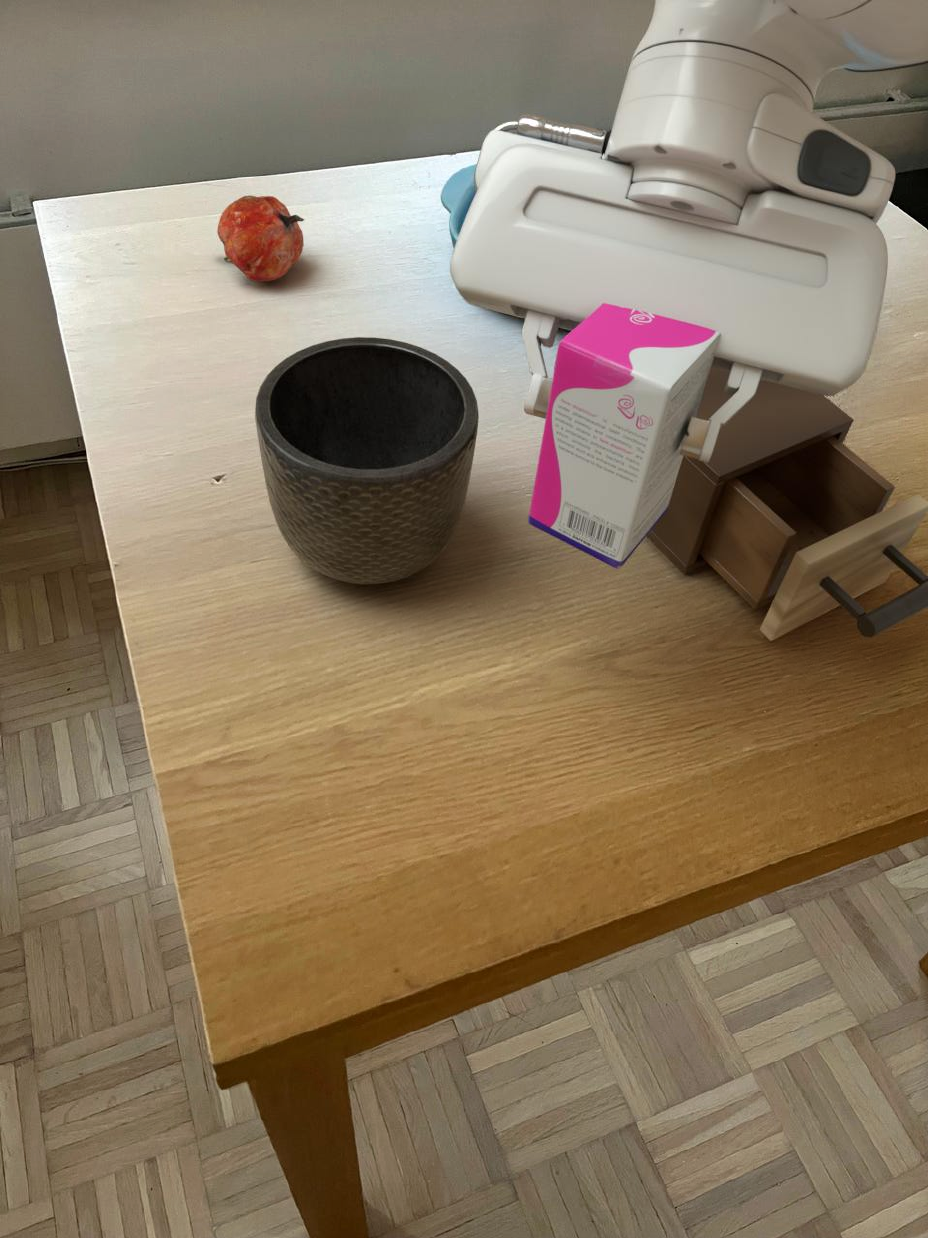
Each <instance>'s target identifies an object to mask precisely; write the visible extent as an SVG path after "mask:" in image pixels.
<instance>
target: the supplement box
mask: <svg viewBox="0 0 928 1238" xmlns="http://www.w3.org/2000/svg"><path fill="white" fill-rule="evenodd" d="M720 335H721V334H720V333H719V332H717V331H714V330H711V329H709V328H705V327H702V326H698V325H695V324H691V323H687V322H683V321H679V320H675V319H671V318H667V317H663V316H659V315H655V314H651V313H647V312H643V311H639V310H634V309H630V308H625V307H620V306H615V305H611V304H606V303H603V304H602V305H601V306H600V307H599V308H598V309H596V310H595V311H594V312H593V313H592V314H591V315H590V316H589V317H587V318H586V319H585V320H584V321H583V322H582V323H580V324H579V325H578V326H577V327H576V328H575V329H573V330H572V331H571V330H570V332H569V333H567V334H566V335H565V336H564V337H563V338H561V339H560V341H559V342H558V345H557V351H556V357H555V361H554V369H553V376H552V379H553V381H552V387H551V392H550V398H549V403H548V409H547V415H546V419H545V422H544V426H543V427H544V428H543V433H542V439H541V445H540V451H539V456H538V460H537V461H538V462H537V468H536V473H535V478H534V479H535V480H534V485H533V489H532V494H531V495H532V496H531V499H530V500H531V502H530V506H529V512H528V513H529V514H528V521H527V523H528V524H529V525H531V526H532V527H534V528H536V529H538V530H540V531H543V532H544V533H546V534H548V535H550V536H552V537H554V538H556V539H558V540H560V541H561V542H563V543H566V544H567V545H569V546H571V547H574V548H575V549H577V550H579V551H581V552H583V553H585V554H587V555H589V556H591V557H592V558H595V559H597V560H598V561H600V562H602V563H604V564H606V565H608V566H610V567H612V568H613V569H616V570H618V571H619V570H621V568H622V567H623V566H624V565H625V564H626V562H627V561H628V560H629V559H630V557H631V556H632V554H634V552H635V551H636V549H637V548H638V547H639V546H640V545H641V543H642V542H643V541H644V540H645V538H646V537H647V535H648V533H649V532H650V531H651V530H652V529H653V528H654V526H655V525H656V524H657V523H658V521H659V520H660V519H661V518H662V516H663V515H664V514H665V513H666V511H667V509H668V505H669V501H670V498H671V495H672V491H673V488H674V485H675V481H676V478H677V475H678V471H679V468H680V465H681V462H682V459H683V456H682V455H679V454H680V451H681V447H682V444H683V441H684V439H685V438H686V431H687V428H688V424H689V421H690V418H691V416H692V417H696V414H697V410H698V407H699V404H700V401H701V397H702V394H703V391H704V388H705V385H706V381H707V378H708V375H709V372H710V369H711V365H712V362H713V359H714V355H713V353H714V350H715V347H716V345H717V343H718V340H719V338H720Z"/></svg>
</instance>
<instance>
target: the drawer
mask: <svg viewBox="0 0 928 1238" xmlns="http://www.w3.org/2000/svg"><path fill="white" fill-rule="evenodd" d="M895 487H896V486H895V485H894V484H893V483H892V482H890V481H889V480H888V479H887V478H885V477H884V475H882V474H880V473H879V472H878V471H877V470H876V469H874V468H873V467H872V466H871V465H870V464H869V463H867V462H866V461H864V460H863V459H862V458H861V457H860V456H859V455H857V454H856V453H855V452H854V451H852V450H851V449H850V448H849V447H848V446H846V444H844V442H843V443H841V442H840V441H839V440H838V439H837V438H835V437H834V436H830V437H828V438H826V439H823V440H821V441H819V442H816V443H814V444H812V445H809V446H807V447H805V448H802V449H800V450H798V451H795V452H793V453H791V454H788V455H786V456H784V457H781V458H779V459H777V460H774V461H772V462H769V463H767V464H765V465H762V466H760V467H758V468H755V469H753V470H751V471H748V472H746V473H744V474H741V475H739V476H737V477H734V478H732V479H730V480H727V481H725V482H724V485H723V488H722V490H721V493H720V496H719V498H718V501H717V504H716V507H715V509H714V512H713V515H712V517H711V520H710V523H709V526H708V528H707V531H706V534H705V537H704V539H703V542H702V545H701V547H700V550H699V554H700V555H701V556H702V557H703V558H704V559H705V560H706V561H707V562H708V565H709V566H710V567H712V568H713V570H715V571H716V572H717V574H718V575H719V576H721V577H722V579H723V580H725V581H726V582H727V583H728V585H730V587H732V588H733V589H734V590H735V591H736V593H738V595H739V596H740V597H742V599H744V601H746V603H747V604H749V606H751V608H753V610H758V609H760V608H761V607H763V606H765V605H766V606H767V604H770V603H771V604H770V607H769V609H768V611H767V613H766V615H765V617H764V619H763V621H762V623H761V625H760V628H759V631H760V632H761V633H762V634H763V635H764V636H765V637H766V638H767V639H768V640H769V641H770V642H773V641H775V640H776V639H778V638H780V637H782V636H785V635H786V634H788V633H789V632H792V631H793V630H795V629H798V628H800V627H801V626H803V625H806V624H807V623H809V622H811V621H813V620H816V619H817V618H818V617H820V616H823V615H824V614H826V613H828V612H830V611H832V610H834V609H836V608H837V607H839V606H841V607H842V608H843V609H844V610H845V611H846V612H848V614H849V615H850V616H852V618H853V619H855V620H856V622H855V626H856V629H857V631H858V633H859V634H860V635H861V636H863V637H864V638H866V639H871V638H873V637H875V636H877V635H880V634H881V633H883V632H885V631H886V630H888V629H890V628H892V627H894V626H895V625H897V624H899V623H901V622H903V621H904V620H907V619H909V618H910V617H913V616H915V614H918V613H920V612H922V611H923V610H925V609H927V608H928V575H927V574H926V573H925V572H924V571H923V570H921V569H920V567H918V566H917V565H916V564H914V563H913V561H911V560H910V559H909V558H907V556H905V555H904V554H903V553H904V551H905V550H906V548H907V547H908V544H909V543H910V541H911V540H912V539H913V536H914V534H915V533H916V531H917V530H918V528H919V526H920V525H921V523H922V521H923V519H924V518H925V516H926V514H927V513H928V500H927V499H925V498H924V497H923V496H921V494H919V493H917V494H915V495H913V496H910V497H908V498H907V499H904V500H902V501H899V502H898V503H896V504H894V505H892V506H890V507H888V508H885V507H886V505H887V503H888V501H889V499H890V497H891V495H892V494H893V492H894V490H895ZM896 566H897V568H898V569H900V570H901V571H902V572H903V573H904V574H906V575H907V576H908V577H909V578H910V579H911V580H913V581H914V582H915V583H916V584H917V585H916V586H915V587H913V588H910V589H908V590H906V591H904V592H903V593H900V594H899V595H898V596H896V597H894V598H892V599H890V600H888V601H886V602H884V603H882V604H880V605H879V606H877V607H875V608H873V609H871V610H869V611H867V610H866V609H865V608H864V607H863V606H862V605H860V603H858V602H857V601H856V600H855V598H857V597H859V596H861V595H863V594H864V593H866V592H868V591H871V590H873V589H874V588H876V587H878V586H880V585H882V584H884V583H886V582H887V580H888V579H889V576H890V575H891V573H892V572H893V570H894V568H895V567H896Z"/></svg>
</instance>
